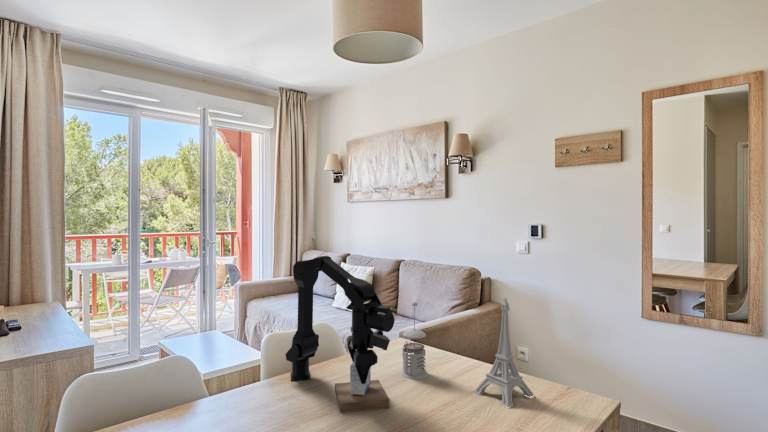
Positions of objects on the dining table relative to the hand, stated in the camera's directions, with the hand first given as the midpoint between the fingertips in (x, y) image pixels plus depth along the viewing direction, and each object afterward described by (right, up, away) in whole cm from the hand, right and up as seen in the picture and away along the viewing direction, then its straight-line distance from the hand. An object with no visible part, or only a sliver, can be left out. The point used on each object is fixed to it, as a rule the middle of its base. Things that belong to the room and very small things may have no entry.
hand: (360, 377), depth 123 cm
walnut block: (0, -7, 0) cm, 7 cm away
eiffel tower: (+44, -7, +4) cm, 45 cm away
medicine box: (0, -4, 0) cm, 4 cm away
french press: (+17, -7, +19) cm, 27 cm away
